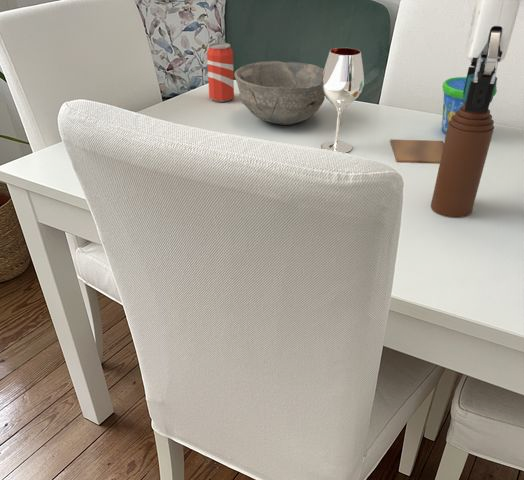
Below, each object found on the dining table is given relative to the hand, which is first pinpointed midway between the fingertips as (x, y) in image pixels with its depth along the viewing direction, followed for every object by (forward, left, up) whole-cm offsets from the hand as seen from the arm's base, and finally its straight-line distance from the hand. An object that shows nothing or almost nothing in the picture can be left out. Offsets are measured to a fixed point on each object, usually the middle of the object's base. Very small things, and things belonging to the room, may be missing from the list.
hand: (474, 102), depth 85 cm
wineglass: (+18, -26, -18) cm, 36 cm away
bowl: (+30, -42, -18) cm, 54 cm away
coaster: (+1, -25, -17) cm, 30 cm away
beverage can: (+45, -56, -18) cm, 74 cm away
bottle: (0, 0, -17) cm, 17 cm away
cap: (0, 0, 0) cm, 0 cm away
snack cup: (-9, -36, -18) cm, 41 cm away
